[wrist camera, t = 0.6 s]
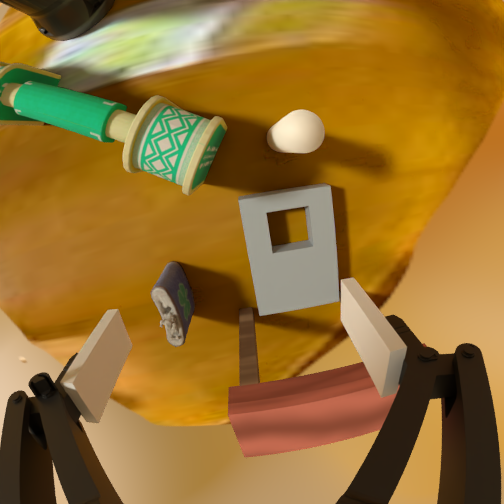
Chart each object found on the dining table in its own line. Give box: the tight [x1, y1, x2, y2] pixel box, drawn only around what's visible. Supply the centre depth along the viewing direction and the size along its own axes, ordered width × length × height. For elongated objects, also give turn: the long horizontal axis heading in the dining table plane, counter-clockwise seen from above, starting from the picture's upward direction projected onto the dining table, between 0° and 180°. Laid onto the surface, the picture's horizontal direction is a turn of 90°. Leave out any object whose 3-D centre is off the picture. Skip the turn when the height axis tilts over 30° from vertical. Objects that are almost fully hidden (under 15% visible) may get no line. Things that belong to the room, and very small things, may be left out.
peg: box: [267, 110, 325, 153], centre depth 31 cm, size 4×4×14 cm
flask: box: [151, 261, 195, 347], centre depth 39 cm, size 9×3×11 cm, turn 11°
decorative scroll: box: [0, 62, 228, 195], centre depth 28 cm, size 36×8×15 cm, turn 66°
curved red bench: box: [228, 291, 427, 457], centre depth 33 cm, size 7×18×25 cm, turn 99°
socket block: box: [238, 183, 339, 316], centre depth 41 cm, size 17×12×3 cm
